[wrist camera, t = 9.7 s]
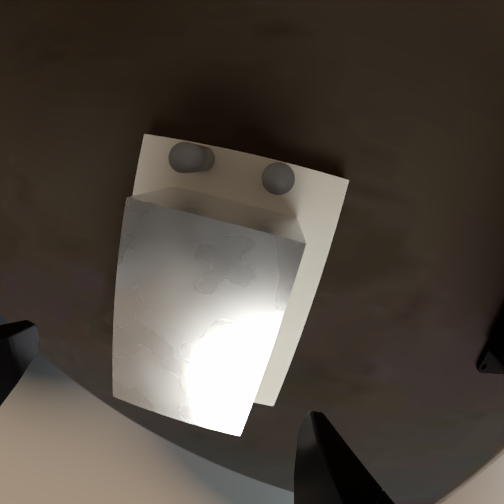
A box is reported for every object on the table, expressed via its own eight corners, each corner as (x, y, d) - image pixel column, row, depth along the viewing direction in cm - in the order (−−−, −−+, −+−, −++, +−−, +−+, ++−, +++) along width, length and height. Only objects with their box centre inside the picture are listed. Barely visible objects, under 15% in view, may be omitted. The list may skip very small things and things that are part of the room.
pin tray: (344, 179, 15) (366, 183, 11) (273, 395, 18) (271, 441, 15) (151, 135, 15) (115, 128, 11) (124, 354, 19) (97, 390, 15)
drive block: (297, 217, 14) (306, 243, 10) (250, 372, 17) (240, 436, 12) (173, 186, 14) (126, 197, 10) (149, 342, 17) (113, 396, 12)
